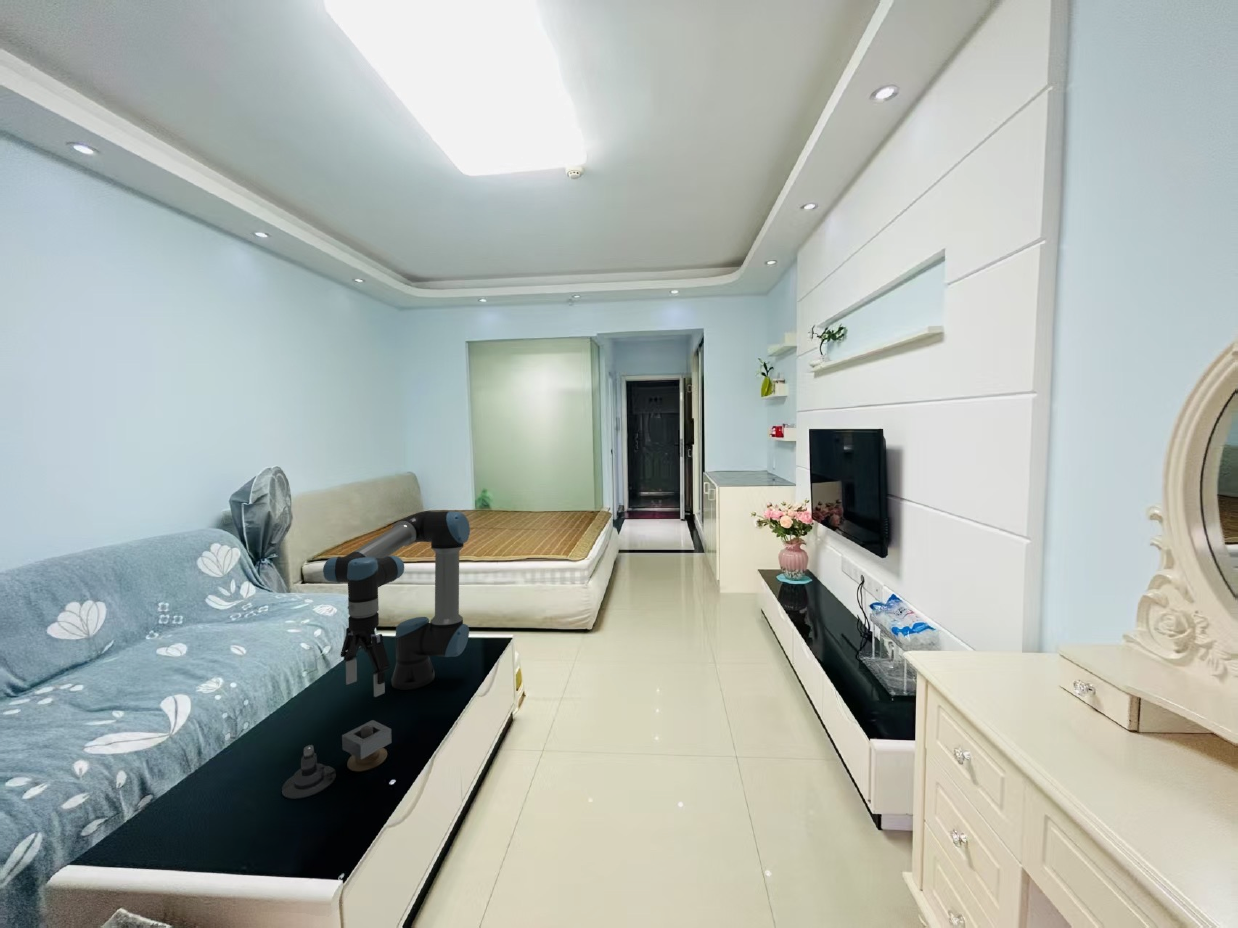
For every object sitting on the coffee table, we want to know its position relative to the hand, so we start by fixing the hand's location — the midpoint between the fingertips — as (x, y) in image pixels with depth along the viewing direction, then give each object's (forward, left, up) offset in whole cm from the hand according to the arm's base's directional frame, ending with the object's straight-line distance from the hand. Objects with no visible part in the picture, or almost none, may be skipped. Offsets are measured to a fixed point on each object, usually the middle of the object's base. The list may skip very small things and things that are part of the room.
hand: (365, 688), depth 137 cm
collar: (0, 0, -17) cm, 17 cm away
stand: (0, 0, -21) cm, 21 cm away
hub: (+13, -4, -21) cm, 25 cm away
